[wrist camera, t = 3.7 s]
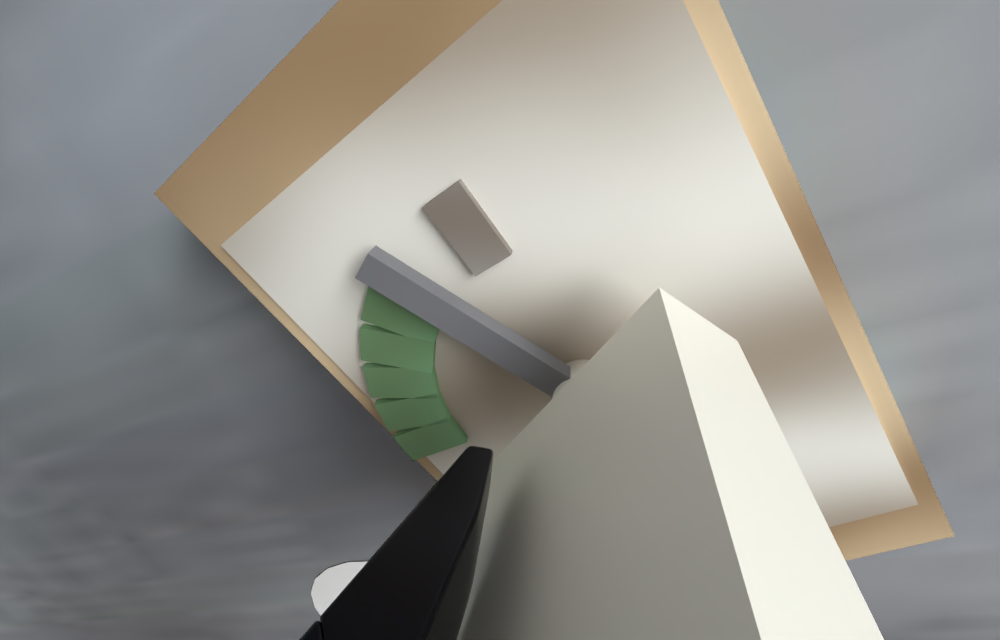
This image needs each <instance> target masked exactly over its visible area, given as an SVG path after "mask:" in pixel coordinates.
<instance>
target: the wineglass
mask: <svg viewBox="0 0 1000 640" xmlns="http://www.w3.org/2000/svg"><path fill="white" fill-rule="evenodd" d="M366 563H367V562H347V563H343V564H340V565H337V566H334V567H331V568H327V569H326V570H325V571H324V572H323V573H322V574H320V575H319V576H318V577H317V578H316V579H315V581H314V584H313V587H312V590H311V595H312V599H313V603H314V607H315V609H316V610H317V611H318V613H319V614H320V615H322V614H323V613H324V611H325V610H326V609H327V608H328V607H329V606H330V604H331V603H332V602H333V601H334V600H335V599H336V598H337V596H338V595H339V594H340V593H341V592H342V591H343V590H344V588H345V587H346V586H347V585H348V584H349V583H350V581H351V580H352V579H353V578H354V577H355V576H356V575H357V573H358V572H359V571H360V570H361V569H362V568H363V567H364V565H365V564H366Z"/></svg>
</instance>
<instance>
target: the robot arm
mask: <svg viewBox="0 0 1000 640" xmlns="http://www.w3.org/2000/svg"><path fill="white" fill-rule="evenodd" d="M492 463H493V451H492V450H491V449H489V448H483V447H477V446H469V447H467V448H466V449H465V450H464V452H463V453H462V454H461V455H460V456H459V457H458V458H457V460H456V461H455V462H454V463H453V464H452V465H451V467H450V468H449V469H448V470H447V471H446V472H445V473H444V475H443V476H442V477H441V478H440V479H439V480H438V481H437V483H436V484H435V485H434V486H433V487H432V488H431V490H430V491H429V492H428V493H427V494H426V495H425V496H424V498H423V499H422V500H421V501H420V502H419V503H418V504H417V506H416V507H415V508H414V509H413V510H412V511H411V513H410V514H409V515H408V516H407V517H406V518H405V519H404V521H403V522H402V523H401V524H400V525H399V526H398V527H397V529H396V530H395V531H394V532H393V533H392V534H391V535H390V537H389V538H388V539H387V540H386V541H385V542H384V544H383V545H382V546H381V547H380V548H379V549H378V550H377V552H376V553H375V554H374V555H373V556H372V557H371V558H370V560H369V561H368V562H367V563H366V564H365V565H364V567H363V568H362V569H361V570H360V571H359V572H358V573H357V575H356V576H355V577H354V578H353V579H352V580H351V581H350V583H349V584H348V585H347V586H346V587H345V588H344V590H343V591H342V592H341V593H340V594H339V595H338V596H337V598H336V599H335V600H334V601H333V602H332V603H331V604H330V606H329V607H328V608H327V609H326V610H325V611H324V613H323V614H322V615H321V617H320V621H321V623H320V621H316V622H315V623H314V624H313V625H312V626H311V627H310V628H309V629H308V631H307V632H306V633H305V634H304V635H303V636H302V637H301V639H300V640H457V637H458V633H459V630H460V627H461V623H462V620H463V617H464V613H465V610H466V607H467V603H468V599H469V596H470V592H471V588H472V584H473V579H474V574H475V568H476V563H477V557H478V552H479V546H480V540H481V535H482V529H483V523H484V518H485V512H486V507H487V501H488V495H489V489H490V481H491V472H492Z"/></svg>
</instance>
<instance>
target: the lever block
mask: <svg viewBox="0 0 1000 640" xmlns="http://www.w3.org/2000/svg"><path fill="white" fill-rule="evenodd" d="M154 194H155V195H156V196H157V197H158V198H159V199H160V200H161V201H162V202H163V203H164V204H165V206H166V207H167V208H168V209H169V210H170V211H171V212H172V213H173V214H174V215H175V216H176V217H177V218H178V219H179V220H180V221H181V222H182V223H183V224H184V225H185V226H186V227H187V228H188V229H189V230H190V231H191V232H192V233H193V234H194V235H195V236H196V237H197V238H198V239H199V240H200V241H201V242H202V243H203V244H204V245H205V246H206V247H207V248H208V249H209V250H210V251H211V252H212V253H213V254H214V255H215V256H216V257H217V258H218V259H219V260H220V261H221V262H222V263H223V264H224V265H225V266H226V267H227V268H228V269H229V270H230V271H231V272H232V273H233V274H234V275H235V276H236V277H237V278H238V279H239V281H240V282H241V283H242V284H243V285H244V286H245V287H246V288H247V289H248V290H249V291H250V292H251V293H252V294H253V295H254V296H255V297H256V298H257V299H258V300H259V301H260V302H261V303H262V304H263V305H264V306H265V307H266V308H267V309H268V310H269V311H270V312H271V313H272V314H273V315H274V316H275V317H276V318H277V319H278V320H279V321H280V322H281V323H282V324H283V325H284V326H285V327H286V328H287V329H288V330H289V331H290V332H291V333H292V334H293V335H294V336H295V337H296V338H297V339H298V340H299V341H300V342H301V343H302V344H303V345H304V346H305V347H306V348H307V349H308V350H309V351H310V352H311V353H312V354H313V356H314V357H315V358H316V359H317V360H318V361H319V362H320V363H321V364H322V365H323V366H324V367H325V368H326V369H327V370H328V371H329V372H330V373H331V374H332V375H333V376H334V377H335V378H336V379H337V380H338V381H339V382H340V383H341V384H342V385H343V386H344V387H345V388H346V389H347V390H348V391H349V392H350V393H351V394H352V395H353V396H354V397H355V398H356V399H357V400H358V401H359V402H360V403H361V404H362V405H363V406H364V407H365V408H366V409H367V410H368V411H369V412H370V413H371V414H372V415H373V416H374V417H375V418H376V419H377V420H378V421H379V422H380V423H381V424H382V425H383V426H384V427H385V428H386V430H387V431H388V432H389V433H390V434H391V435H392V436H393V438H394V439H395V440H396V442H397V443H398V444H399V445H400V446H401V447H402V449H403V450H404V451H405V452H406V453H407V454H408V456H409V457H410V458H411V459H412V460H413V461H415V460H417V461H418V462H419V463H420V464H421V465H422V466H423V467H424V468H425V469H426V470H427V471H428V472H429V473H430V474H431V475H432V476H433V477H434V478H435V479H436V480H437V481H438V480H439V479H440V478H441V477H442V476H443V475H444V473H445V472H446V471H447V470H448V469H449V468H450V467H451V465H452V464H453V463H454V462H455V461H456V460H457V458H458V457H459V456H460V455H461V454H462V453H463V452H464V450H465V449H466V448H467V447H469V446H477V447H483V448H489V449H491V450H492V451H493V460H494V459H495V458H496V457H497V456H498V455H499V454H500V453H501V452H502V451H503V450H504V449H505V448H506V447H507V446H508V445H509V444H510V443H511V442H512V441H513V440H514V438H515V437H516V436H517V435H518V434H519V433H520V432H521V431H522V430H523V429H524V428H525V427H526V426H527V425H528V424H529V423H530V422H531V421H532V420H533V419H534V418H535V417H536V415H537V414H538V413H539V412H540V411H541V410H542V409H543V408H544V407H545V406H546V405H547V404H548V403H549V402H550V401H551V400H552V397H551V396H549V395H548V394H546V393H544V392H543V391H541V390H539V389H538V388H536V387H534V386H533V385H531V384H529V383H528V382H526V381H524V380H523V379H521V378H519V377H518V376H516V375H515V374H513V373H511V372H510V371H508V370H506V369H505V368H503V367H501V366H500V365H498V364H496V363H495V362H493V361H491V360H490V359H488V358H486V357H485V356H483V355H481V354H480V353H478V352H476V351H475V350H473V349H472V348H470V347H468V346H467V345H465V344H463V343H462V342H460V341H458V340H457V339H455V338H453V337H452V336H450V335H448V334H447V333H445V332H443V331H442V330H440V329H438V328H437V327H435V326H433V325H432V324H430V323H429V322H427V321H425V320H424V319H422V318H420V317H419V316H417V315H415V314H414V313H412V312H410V311H409V310H407V309H405V308H404V307H402V306H400V305H399V304H397V303H395V302H394V301H392V300H390V299H389V298H387V297H386V296H384V295H382V294H381V293H379V292H377V291H376V290H374V289H372V288H371V287H369V286H367V285H366V284H364V283H362V282H361V281H359V280H357V279H356V278H355V277H356V275H357V273H358V271H359V269H360V267H361V265H362V264H363V262H364V260H365V258H366V256H367V254H368V253H369V252H370V251H371V250H372V249H373V248H374V246H375V245H376V246H378V247H379V248H381V249H382V250H384V251H386V252H387V253H389V254H391V255H392V256H394V257H395V258H397V259H399V260H400V261H402V262H403V263H405V264H407V265H408V266H410V267H411V268H413V269H415V270H416V271H418V272H419V273H421V274H423V275H424V276H426V277H427V278H429V279H431V280H432V281H434V282H436V283H437V284H439V285H440V286H442V287H444V288H445V289H447V290H448V291H450V292H452V293H453V294H455V295H456V296H458V297H460V298H461V299H463V300H464V301H466V302H468V303H469V304H471V305H472V306H474V307H476V308H477V309H479V310H481V311H482V312H484V313H485V314H487V315H489V316H490V317H492V318H493V319H495V320H497V321H498V322H500V323H501V324H503V325H505V326H506V327H508V328H509V329H511V330H513V331H514V332H516V333H517V334H519V335H521V336H522V337H524V338H526V339H527V340H529V341H530V342H532V343H534V344H535V345H537V346H538V347H540V348H542V349H543V350H545V351H546V352H548V353H550V354H551V355H553V356H554V357H556V358H558V359H559V360H561V361H562V362H564V363H567V362H569V361H572V360H577V359H587V360H590V359H591V358H592V357H593V356H594V355H595V354H596V353H597V352H598V351H599V350H600V349H601V348H602V347H603V345H604V344H605V343H606V342H607V341H608V340H609V339H610V338H611V337H612V336H613V335H614V334H615V333H616V332H617V331H618V330H619V329H620V328H621V327H622V326H623V325H624V324H625V323H626V321H627V320H628V319H629V318H630V317H631V316H632V315H633V314H634V313H635V312H636V311H637V310H638V309H639V308H640V307H641V306H642V305H643V304H644V303H645V302H646V301H647V300H648V298H649V297H650V296H651V295H652V294H653V293H654V292H655V291H656V290H657V289H658V288H661V289H662V290H664V291H665V292H667V293H668V294H670V295H671V296H673V297H674V298H675V299H677V300H678V301H680V302H681V303H683V304H684V305H686V306H687V307H689V308H690V309H692V310H693V311H695V312H696V313H698V314H699V315H700V316H702V317H703V318H705V319H706V320H708V321H709V322H711V323H712V324H714V325H715V326H717V327H718V328H720V329H721V330H723V331H724V332H725V333H727V334H728V335H730V336H731V337H733V338H734V339H736V340H737V341H738V343H739V345H740V347H741V349H742V351H743V353H744V355H745V357H746V359H747V361H748V363H749V365H750V367H751V369H752V371H753V373H754V376H755V378H756V380H757V382H758V384H759V386H760V388H761V390H762V392H763V394H764V396H765V398H766V400H767V402H768V404H769V406H770V408H771V410H772V412H773V414H774V416H775V418H776V420H777V422H778V424H779V427H780V429H781V431H782V433H783V435H784V437H785V439H786V441H787V443H788V445H789V447H790V449H791V451H792V453H793V455H794V457H795V459H796V461H797V463H798V465H799V467H800V469H801V471H802V473H803V475H804V477H805V480H806V482H807V484H808V486H809V488H810V490H811V492H812V494H813V496H814V498H815V500H816V502H817V504H818V506H819V508H820V510H821V512H822V514H823V516H824V518H825V520H826V522H827V524H828V526H829V528H830V531H831V533H832V535H833V537H834V539H835V541H836V543H837V545H838V547H839V549H840V551H841V553H842V555H843V557H844V559H845V561H847V560H851V559H856V558H860V557H864V556H869V555H873V554H878V553H882V552H886V551H891V550H895V549H900V548H904V547H908V546H913V545H917V544H922V543H926V542H931V541H935V540H939V539H944V538H948V537H953V536H954V533H953V531H952V529H951V527H950V524H949V522H948V520H947V518H946V515H945V513H944V511H943V508H942V506H941V504H940V502H939V499H938V497H937V495H936V493H935V490H934V488H933V486H932V484H931V481H930V479H929V477H928V474H927V472H926V470H925V468H924V465H923V463H922V461H921V459H920V456H919V454H918V452H917V450H916V447H915V445H914V443H913V441H912V438H911V436H910V434H909V431H908V429H907V427H906V425H905V422H904V420H903V418H902V416H901V413H900V411H899V409H898V407H897V404H896V402H895V400H894V397H893V395H892V393H891V391H890V388H889V386H888V384H887V382H886V379H885V377H884V375H883V373H882V370H881V368H880V366H879V363H878V361H877V359H876V357H875V354H874V352H873V350H872V348H871V345H870V343H869V341H868V339H867V336H866V334H865V332H864V329H863V327H862V325H861V323H860V320H859V318H858V316H857V314H856V311H855V309H854V307H853V305H852V302H851V300H850V298H849V296H848V293H847V291H846V289H845V286H844V284H843V282H842V280H841V277H840V275H839V273H838V271H837V268H836V266H835V264H834V262H833V259H832V257H831V255H830V252H829V250H828V248H827V246H826V243H825V241H824V239H823V237H822V234H821V232H820V230H819V228H818V225H817V223H816V221H815V218H814V216H813V214H812V212H811V209H810V207H809V205H808V203H807V200H806V198H805V196H804V194H803V191H802V189H801V187H800V185H799V182H798V180H797V178H796V175H795V173H794V171H793V169H792V166H791V164H790V162H789V160H788V157H787V155H786V153H785V151H784V148H783V146H782V144H781V141H780V139H779V137H778V135H777V132H776V130H775V128H774V126H773V123H772V121H771V119H770V117H769V114H768V112H767V110H766V107H765V105H764V103H763V101H762V98H761V96H760V94H759V92H758V89H757V87H756V85H755V83H754V80H753V78H752V76H751V73H750V71H749V69H748V67H747V64H746V62H745V60H744V58H743V55H742V53H741V51H740V49H739V46H738V44H737V42H736V40H735V37H734V35H733V33H732V30H731V28H730V26H729V24H728V21H727V19H726V17H725V15H724V12H723V10H722V8H721V6H720V3H719V1H718V0H339V1H338V2H337V4H336V5H335V6H334V7H333V8H332V9H331V10H330V11H329V12H328V13H327V14H326V15H325V16H324V17H323V18H322V19H321V20H320V21H319V22H318V23H317V24H316V25H315V26H314V27H313V29H312V30H311V31H310V32H309V33H308V34H307V35H306V36H305V37H304V38H303V39H302V40H301V41H300V42H299V43H298V44H297V45H296V46H295V47H294V48H293V49H292V50H291V51H290V52H289V54H288V55H287V56H286V57H285V58H284V59H283V60H282V61H281V62H280V63H279V64H278V65H277V66H276V67H275V68H274V69H273V70H272V71H271V72H270V73H269V74H268V75H267V76H266V77H265V78H264V80H263V81H262V82H261V83H260V84H259V85H258V86H257V87H256V88H255V89H254V90H253V91H252V92H251V93H250V94H249V95H248V96H247V97H246V98H245V99H244V100H243V101H242V102H241V103H240V105H239V106H238V107H237V108H236V109H235V110H234V111H233V112H232V113H231V114H230V115H229V116H228V117H227V118H226V119H225V120H224V121H223V122H222V123H221V124H220V125H219V126H218V127H217V128H216V130H215V131H214V132H213V133H212V134H211V135H210V136H209V137H208V138H207V139H206V140H205V141H204V142H203V143H202V144H201V145H200V146H199V147H198V148H197V149H196V150H195V151H194V152H193V153H192V154H191V156H190V157H189V158H188V159H187V160H186V161H185V162H184V163H183V164H182V165H181V166H180V167H179V168H178V169H177V170H176V171H175V172H174V173H173V174H172V175H171V176H170V177H169V178H168V179H167V181H166V182H165V183H164V184H163V185H162V186H161V187H160V188H159V189H158V190H157V191H156V192H155V193H154Z"/></svg>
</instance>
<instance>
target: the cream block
mask: <svg viewBox="0 0 1000 640" xmlns="http://www.w3.org/2000/svg"><path fill="white" fill-rule="evenodd" d="M355 278H356V279H357V280H359V281H361V282H362V283H364V284H366V285H367V286H369V287H371V288H372V289H374V290H376V291H377V292H379V293H381V294H382V295H384V296H386V297H387V298H389V299H390V300H392V301H394V302H395V303H397V304H399V305H400V306H402V307H404V308H405V309H407V310H409V311H410V312H412V313H414V314H415V315H417V316H419V317H420V318H422V319H424V320H425V321H427V322H429V323H430V324H432V325H433V326H435V327H437V328H438V329H440V330H442V331H443V332H445V333H447V334H448V335H450V336H452V337H453V338H455V339H457V340H458V341H460V342H462V343H463V344H465V345H467V346H468V347H470V348H472V349H473V350H475V351H476V352H478V353H480V354H481V355H483V356H485V357H486V358H488V359H490V360H491V361H493V362H495V363H496V364H498V365H500V366H501V367H503V368H505V369H506V370H508V371H510V372H511V373H513V374H515V375H516V376H518V377H519V378H521V379H523V380H524V381H526V382H528V383H529V384H531V385H533V386H534V387H536V388H538V389H539V390H541V391H543V392H544V393H546V394H548V395H549V396H551V397H552V400H551V401H550V402H549V403H548V404H547V405H546V406H545V407H544V408H543V409H542V410H541V411H540V412H539V413H538V414H537V415H536V417H535V418H534V419H533V420H532V421H531V422H530V423H529V424H528V425H527V426H526V427H525V428H524V429H523V430H522V431H521V432H520V433H519V434H518V435H517V436H516V437H515V438H514V440H513V441H512V442H511V443H510V444H509V445H508V446H507V447H506V448H505V449H504V450H503V451H502V452H501V453H500V454H499V455H498V456H497V457H496V458H495V459H494V460H493V463H492V472H491V481H490V489H489V495H488V501H487V507H486V512H485V518H484V523H483V529H482V535H481V540H480V546H479V552H478V557H477V563H476V568H475V574H474V579H473V584H472V588H471V592H470V596H469V599H468V603H467V607H466V610H465V613H464V617H463V620H462V623H461V627H460V630H459V633H458V637H457V640H884V639H883V637H882V635H881V632H880V630H879V628H878V626H877V624H876V622H875V620H874V618H873V616H872V614H871V612H870V610H869V608H868V606H867V604H866V602H865V600H864V598H863V596H862V594H861V592H860V590H859V588H858V586H857V584H856V581H855V579H854V577H853V575H852V573H851V571H850V569H849V567H848V565H847V563H846V561H845V559H844V557H843V555H842V553H841V551H840V549H839V547H838V545H837V543H836V541H835V539H834V537H833V535H832V533H831V531H830V528H829V526H828V524H827V522H826V520H825V518H824V516H823V514H822V512H821V510H820V508H819V506H818V504H817V502H816V500H815V498H814V496H813V494H812V492H811V490H810V488H809V486H808V484H807V482H806V480H805V477H804V475H803V473H802V471H801V469H800V467H799V465H798V463H797V461H796V459H795V457H794V455H793V453H792V451H791V449H790V447H789V445H788V443H787V441H786V439H785V437H784V435H783V433H782V431H781V429H780V427H779V424H778V422H777V420H776V418H775V416H774V414H773V412H772V410H771V408H770V406H769V404H768V402H767V400H766V398H765V396H764V394H763V392H762V390H761V388H760V386H759V384H758V382H757V380H756V378H755V376H754V373H753V371H752V369H751V367H750V365H749V363H748V361H747V359H746V357H745V355H744V353H743V351H742V349H741V347H740V345H739V343H738V341H737V340H736V339H734V338H733V337H731V336H730V335H728V334H727V333H725V332H724V331H723V330H721V329H720V328H718V327H717V326H715V325H714V324H712V323H711V322H709V321H708V320H706V319H705V318H703V317H702V316H700V315H699V314H698V313H696V312H695V311H693V310H692V309H690V308H689V307H687V306H686V305H684V304H683V303H681V302H680V301H678V300H677V299H675V298H674V297H673V296H671V295H670V294H668V293H667V292H665V291H664V290H662V289H661V288H658V289H657V290H656V291H655V292H654V293H653V294H652V295H651V296H650V297H649V298H648V300H647V301H646V302H645V303H644V304H643V305H642V306H641V307H640V308H639V309H638V310H637V311H636V312H635V313H634V314H633V315H632V316H631V317H630V318H629V319H628V320H627V321H626V323H625V324H624V325H623V326H622V327H621V328H620V329H619V330H618V331H617V332H616V333H615V334H614V335H613V336H612V337H611V338H610V339H609V340H608V341H607V342H606V343H605V344H604V345H603V347H602V348H601V349H600V350H599V351H598V352H597V353H596V354H595V355H594V356H593V357H592V358H591V359H590V360H587V359H577V360H572V361H569V362H567V363H564V362H562V361H561V360H559V359H558V358H556V357H554V356H553V355H551V354H550V353H548V352H546V351H545V350H543V349H542V348H540V347H538V346H537V345H535V344H534V343H532V342H530V341H529V340H527V339H526V338H524V337H522V336H521V335H519V334H517V333H516V332H514V331H513V330H511V329H509V328H508V327H506V326H505V325H503V324H501V323H500V322H498V321H497V320H495V319H493V318H492V317H490V316H489V315H487V314H485V313H484V312H482V311H481V310H479V309H477V308H476V307H474V306H472V305H471V304H469V303H468V302H466V301H464V300H463V299H461V298H460V297H458V296H456V295H455V294H453V293H452V292H450V291H448V290H447V289H445V288H444V287H442V286H440V285H439V284H437V283H436V282H434V281H432V280H431V279H429V278H427V277H426V276H424V275H423V274H421V273H419V272H418V271H416V270H415V269H413V268H411V267H410V266H408V265H407V264H405V263H403V262H402V261H400V260H399V259H397V258H395V257H394V256H392V255H391V254H389V253H387V252H386V251H384V250H382V249H381V248H379V247H378V246H376V245H375V246H374V248H373V249H372V250H371V251H370V252H369V253H368V254H367V256H366V258H365V260H364V262H363V264H362V265H361V267H360V269H359V271H358V273H357V275H356V277H355Z"/></svg>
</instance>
